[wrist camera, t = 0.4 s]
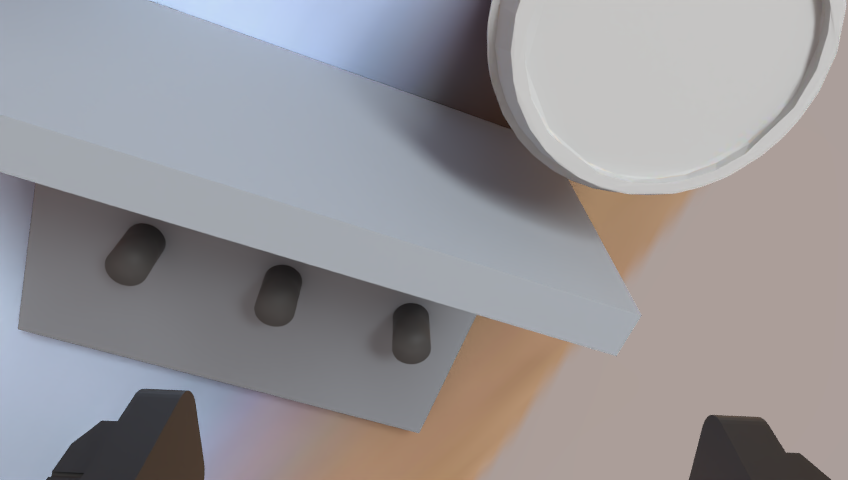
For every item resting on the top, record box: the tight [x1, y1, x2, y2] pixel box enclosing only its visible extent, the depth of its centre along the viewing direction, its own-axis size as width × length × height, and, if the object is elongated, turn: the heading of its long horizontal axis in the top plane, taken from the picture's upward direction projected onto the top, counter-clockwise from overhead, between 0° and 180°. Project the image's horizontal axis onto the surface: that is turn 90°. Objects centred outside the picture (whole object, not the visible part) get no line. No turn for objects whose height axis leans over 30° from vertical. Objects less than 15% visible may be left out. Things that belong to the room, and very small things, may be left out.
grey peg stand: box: [0, 0, 641, 433], centre depth 27 cm, size 17×21×14 cm
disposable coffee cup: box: [487, 0, 846, 195], centre depth 23 cm, size 10×10×12 cm
